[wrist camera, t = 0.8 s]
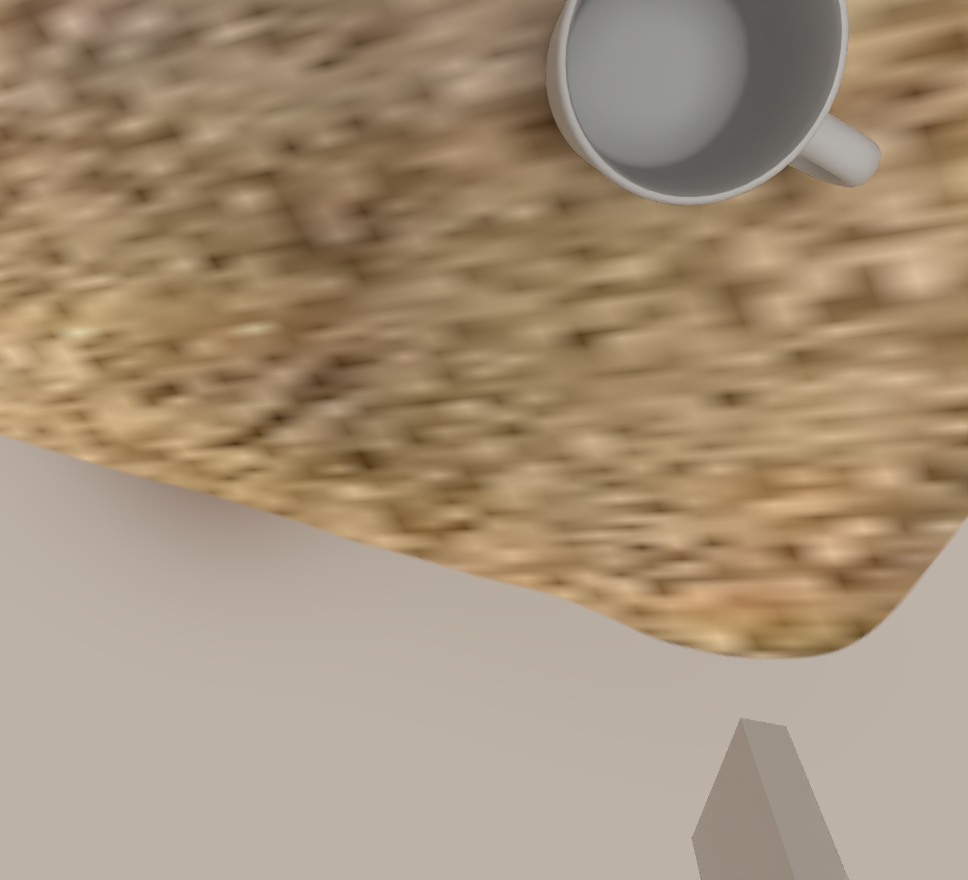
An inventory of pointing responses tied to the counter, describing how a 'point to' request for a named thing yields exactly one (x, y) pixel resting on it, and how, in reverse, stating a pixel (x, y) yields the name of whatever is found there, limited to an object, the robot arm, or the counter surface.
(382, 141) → the counter surface
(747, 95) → the mug
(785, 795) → the robot arm
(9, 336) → the counter surface
